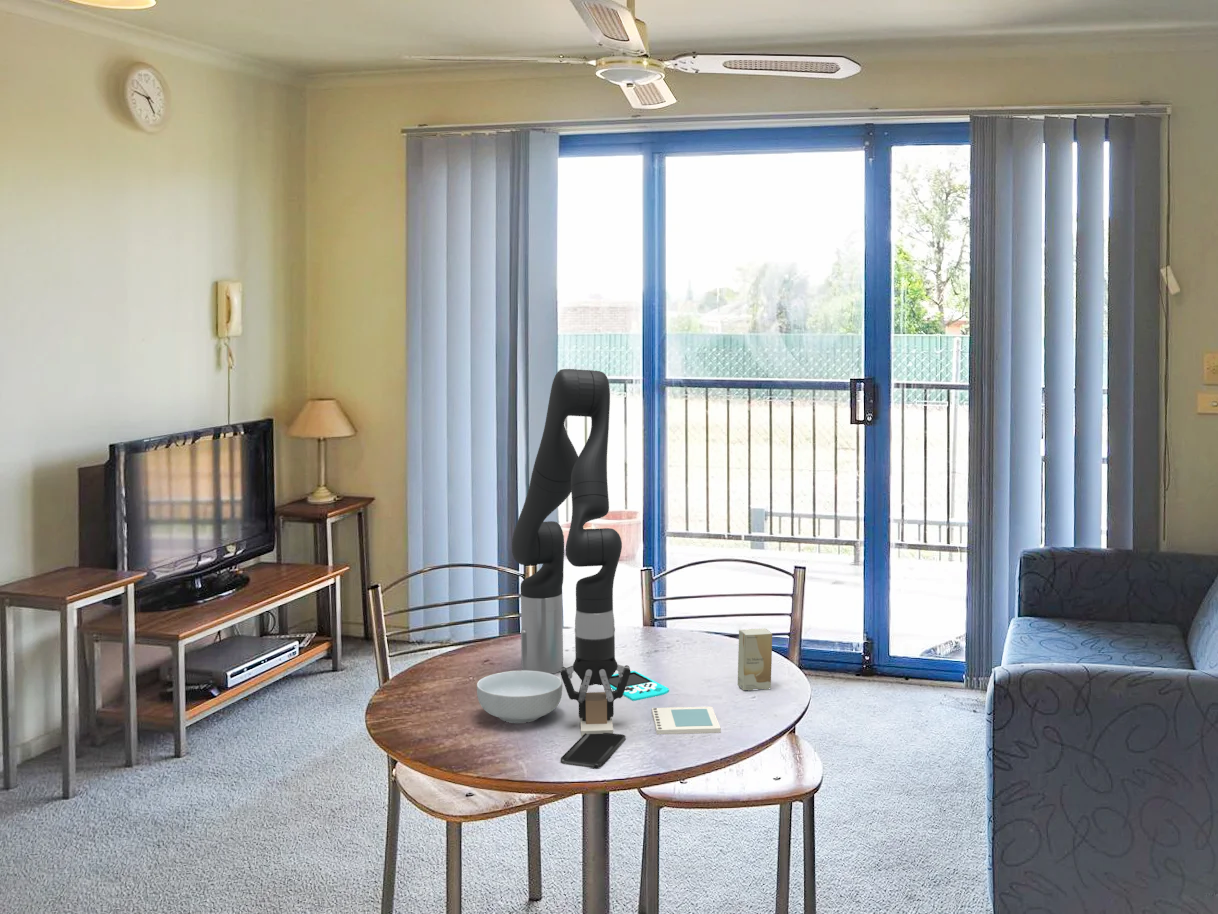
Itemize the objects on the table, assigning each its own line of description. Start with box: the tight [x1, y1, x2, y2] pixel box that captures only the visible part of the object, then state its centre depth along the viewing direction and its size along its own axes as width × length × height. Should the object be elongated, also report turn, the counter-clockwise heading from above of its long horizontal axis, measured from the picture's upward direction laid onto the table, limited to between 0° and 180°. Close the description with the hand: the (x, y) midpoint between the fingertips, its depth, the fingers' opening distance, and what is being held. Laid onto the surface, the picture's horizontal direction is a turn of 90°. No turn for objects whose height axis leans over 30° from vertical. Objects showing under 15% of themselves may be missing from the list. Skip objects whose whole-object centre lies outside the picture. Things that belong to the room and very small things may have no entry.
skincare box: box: [737, 627, 773, 691], centre depth 235 cm, size 6×4×12 cm
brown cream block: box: [579, 691, 614, 737], centre depth 214 cm, size 6×12×6 cm, turn 3°
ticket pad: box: [651, 706, 722, 735], centre depth 215 cm, size 12×12×1 cm
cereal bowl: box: [476, 670, 563, 724], centre depth 219 cm, size 17×17×7 cm
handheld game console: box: [609, 670, 670, 702], centre depth 237 cm, size 10×16×1 cm, turn 29°
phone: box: [560, 732, 627, 770], centre depth 202 cm, size 8×1×15 cm
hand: (596, 718), depth 214 cm, fingers closed on brown cream block, 4 cm apart
